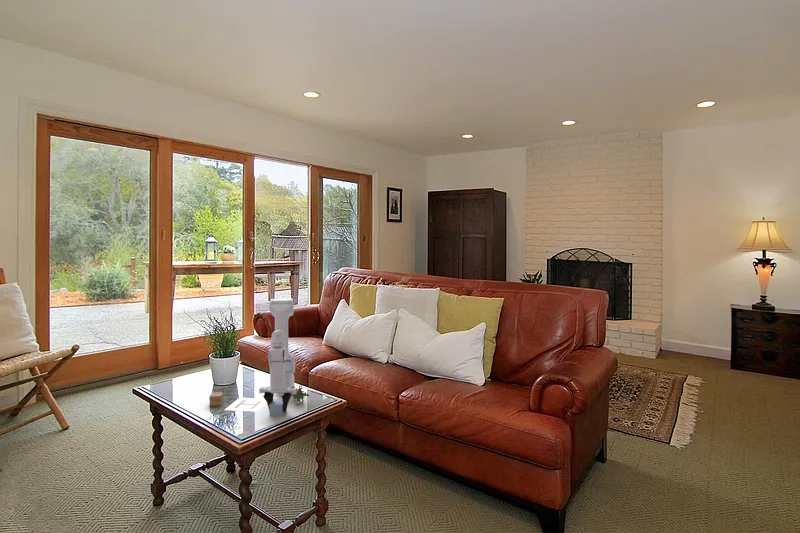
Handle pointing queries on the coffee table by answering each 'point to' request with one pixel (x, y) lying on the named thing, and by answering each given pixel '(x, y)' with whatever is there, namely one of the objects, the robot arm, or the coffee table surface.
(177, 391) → the coffee table surface
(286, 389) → the robot arm
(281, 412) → the blue cube
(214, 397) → the walnut block
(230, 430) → the coffee table surface
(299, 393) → the figurine
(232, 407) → the letter mat
